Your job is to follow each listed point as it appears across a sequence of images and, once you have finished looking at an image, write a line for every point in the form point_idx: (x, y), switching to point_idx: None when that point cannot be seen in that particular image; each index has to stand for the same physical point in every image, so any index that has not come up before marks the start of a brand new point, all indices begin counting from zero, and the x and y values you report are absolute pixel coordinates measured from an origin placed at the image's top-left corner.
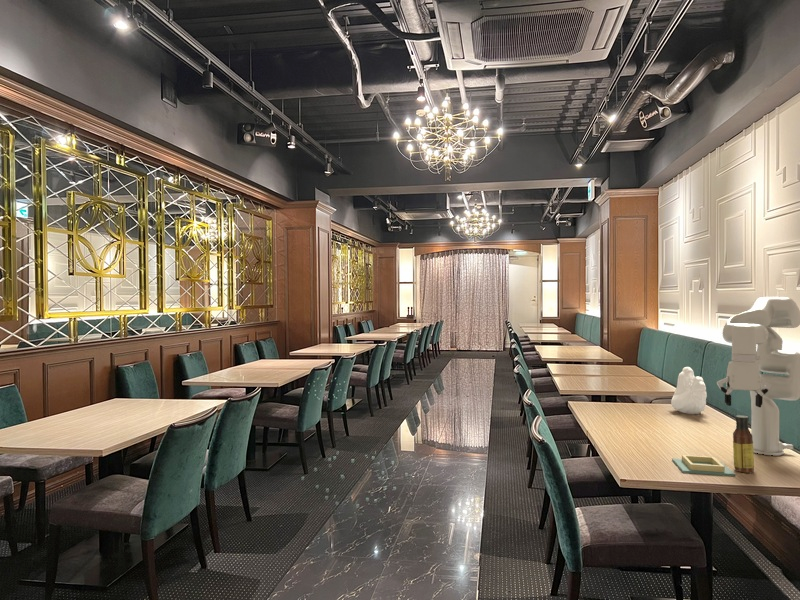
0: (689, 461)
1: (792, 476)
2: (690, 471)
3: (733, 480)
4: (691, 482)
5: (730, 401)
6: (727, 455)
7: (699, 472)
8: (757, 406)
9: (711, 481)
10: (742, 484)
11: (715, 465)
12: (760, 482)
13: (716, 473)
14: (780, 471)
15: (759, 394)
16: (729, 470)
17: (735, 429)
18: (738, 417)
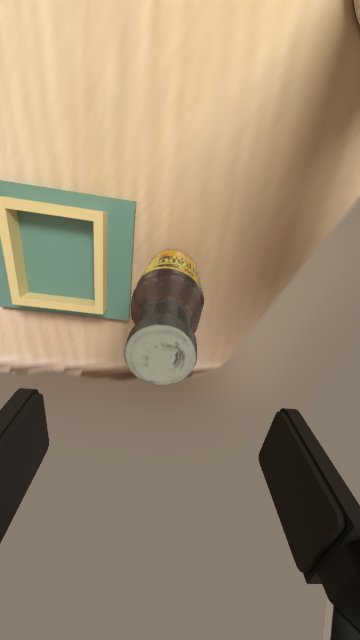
0: (11, 276)
1: (270, 303)
2: (20, 307)
3: (113, 344)
4: (16, 365)
5: (21, 486)
6: (210, 63)
7: (43, 310)
8: (265, 439)
9: (61, 355)
10: (122, 365)
11: (80, 307)
12: None
13: (84, 315)
14: (270, 265)
15: (328, 610)
16: (124, 293)
17: (140, 302)
18: (131, 371)
